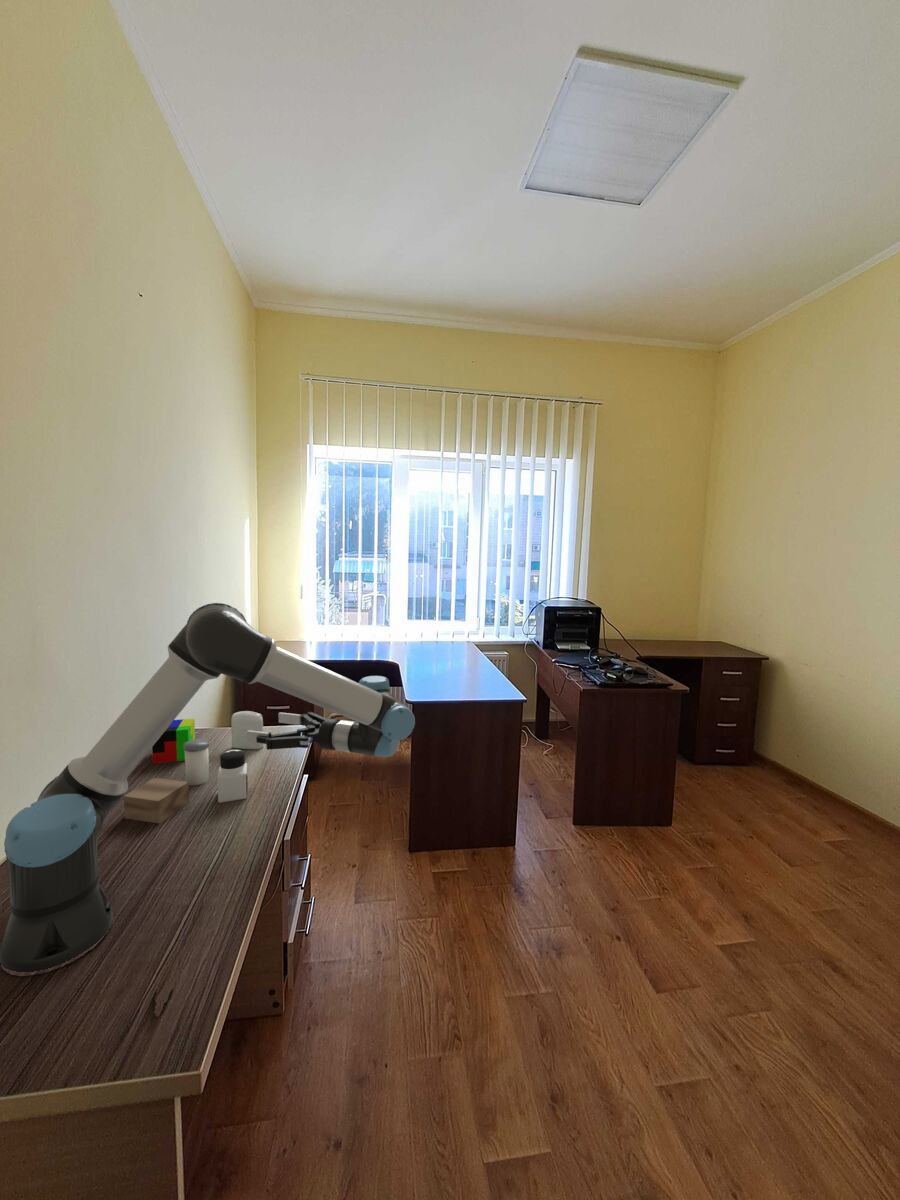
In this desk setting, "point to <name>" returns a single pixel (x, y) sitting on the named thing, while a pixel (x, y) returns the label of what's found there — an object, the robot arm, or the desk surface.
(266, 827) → the desk surface
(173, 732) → the puzzle toy
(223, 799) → the medicine bottle
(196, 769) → the plastic jar
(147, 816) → the walnut block
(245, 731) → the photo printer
